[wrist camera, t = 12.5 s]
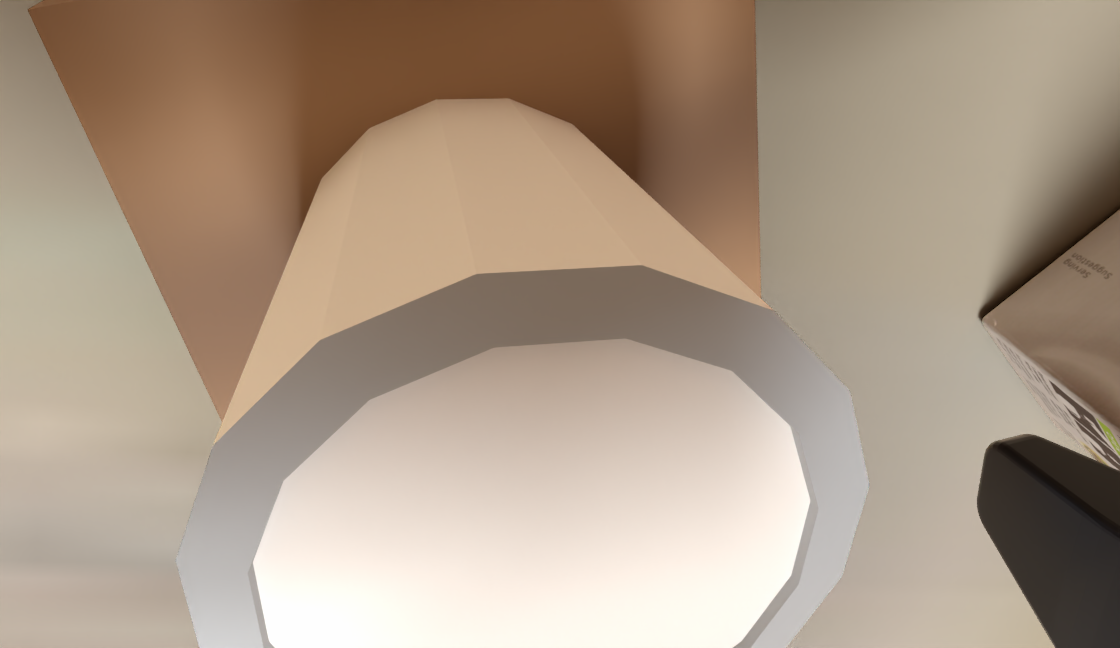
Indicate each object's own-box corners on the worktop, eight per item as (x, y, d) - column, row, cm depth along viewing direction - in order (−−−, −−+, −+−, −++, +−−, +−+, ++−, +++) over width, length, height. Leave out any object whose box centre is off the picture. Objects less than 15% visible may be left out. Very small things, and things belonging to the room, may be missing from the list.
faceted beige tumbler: (612, 436, 17) (744, 774, 11) (247, 410, 15) (167, 802, 9) (723, 99, 14) (996, 318, 8) (275, 9, 12) (180, 211, 6)
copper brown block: (699, 319, 21) (763, 418, 17) (292, 414, 20) (276, 537, 16) (668, -141, 15) (751, -128, 12) (107, -37, 14) (27, 9, 11)
